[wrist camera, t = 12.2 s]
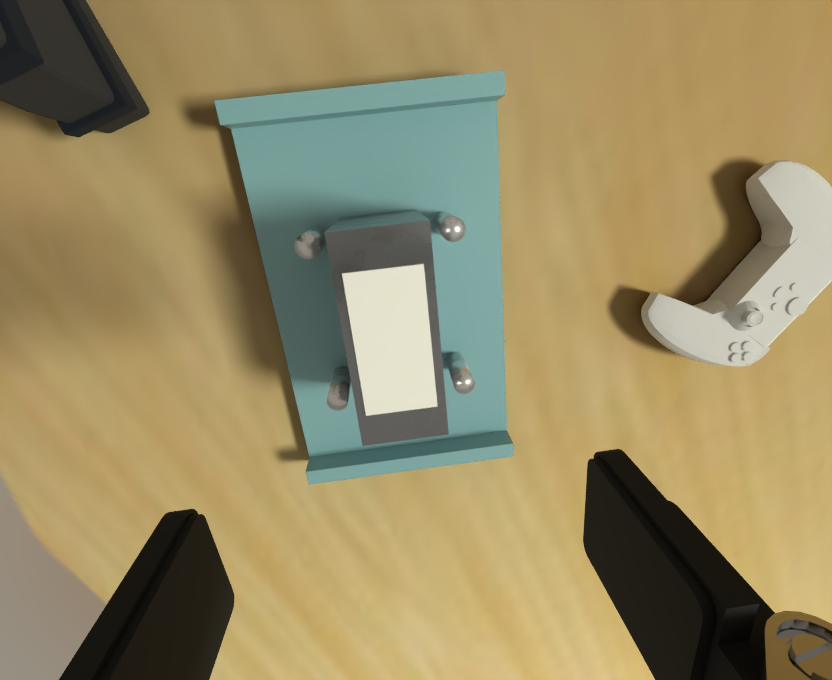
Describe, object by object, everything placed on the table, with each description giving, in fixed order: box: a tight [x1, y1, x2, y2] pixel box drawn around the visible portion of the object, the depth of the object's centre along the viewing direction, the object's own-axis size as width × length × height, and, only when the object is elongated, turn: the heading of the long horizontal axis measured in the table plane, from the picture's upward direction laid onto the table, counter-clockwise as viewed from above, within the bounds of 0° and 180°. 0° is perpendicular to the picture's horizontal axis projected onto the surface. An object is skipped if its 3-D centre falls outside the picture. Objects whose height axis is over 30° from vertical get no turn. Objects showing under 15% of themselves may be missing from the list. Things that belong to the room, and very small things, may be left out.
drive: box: [324, 210, 449, 446], centre depth 25 cm, size 12×5×8 cm, turn 6°
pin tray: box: [214, 70, 514, 485], centre depth 28 cm, size 26×16×5 cm, turn 6°
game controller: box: [641, 160, 832, 366], centre depth 30 cm, size 14×4×10 cm
